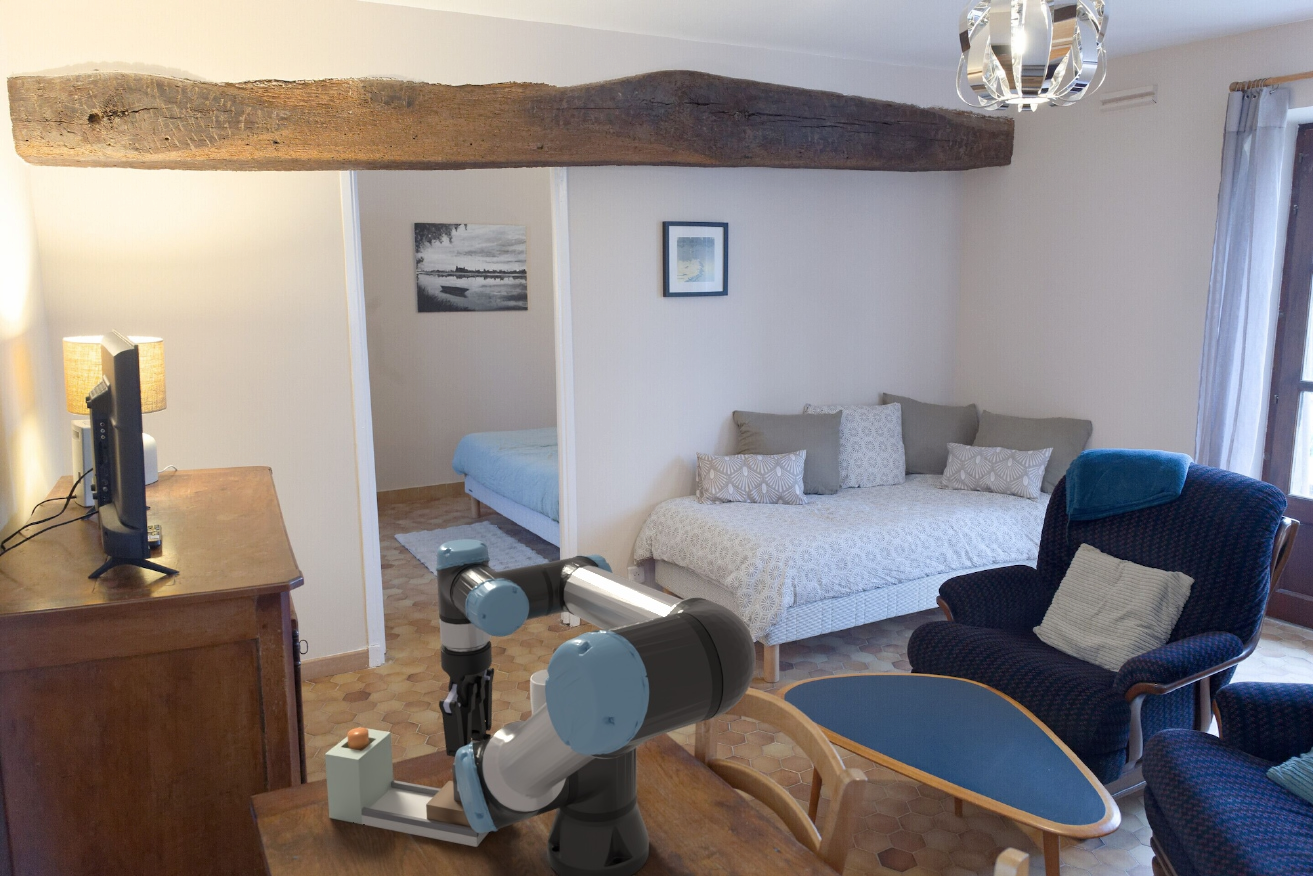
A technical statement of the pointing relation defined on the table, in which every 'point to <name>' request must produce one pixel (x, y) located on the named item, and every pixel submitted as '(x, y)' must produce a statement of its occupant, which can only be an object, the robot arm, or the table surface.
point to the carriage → (447, 805)
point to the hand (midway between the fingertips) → (471, 785)
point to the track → (415, 815)
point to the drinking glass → (538, 690)
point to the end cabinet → (358, 776)
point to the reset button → (358, 739)
